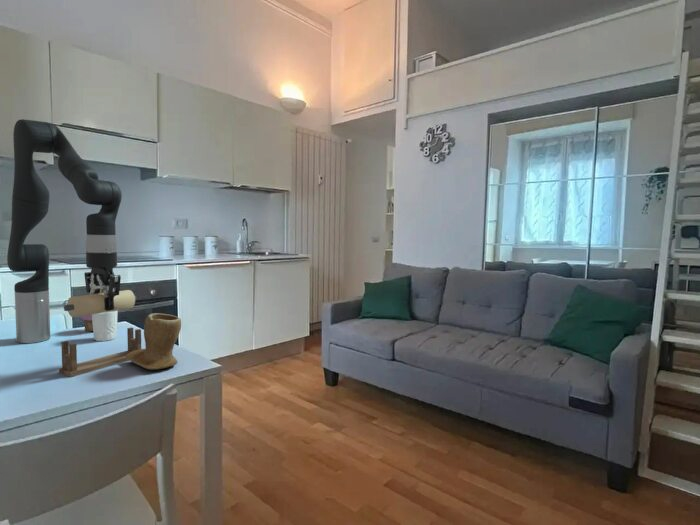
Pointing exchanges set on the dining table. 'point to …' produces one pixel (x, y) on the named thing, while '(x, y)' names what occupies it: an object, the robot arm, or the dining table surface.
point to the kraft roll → (98, 303)
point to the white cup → (105, 325)
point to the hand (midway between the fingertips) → (102, 308)
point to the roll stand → (75, 369)
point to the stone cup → (157, 342)
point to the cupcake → (87, 322)
